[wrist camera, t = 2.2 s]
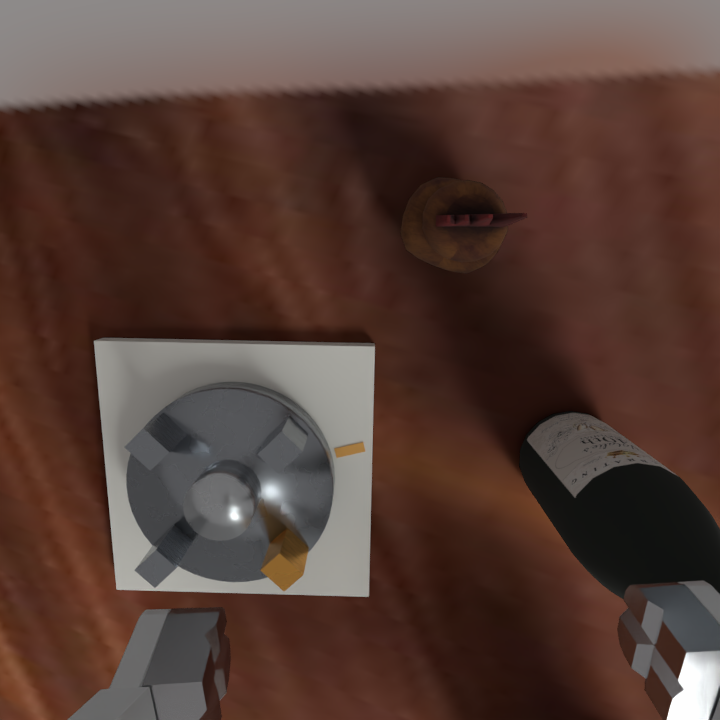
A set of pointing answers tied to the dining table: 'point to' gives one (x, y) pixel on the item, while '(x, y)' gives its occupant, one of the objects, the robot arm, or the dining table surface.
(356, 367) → the base plate
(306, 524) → the lathe chuck
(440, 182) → the wooden figurine
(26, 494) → the dining table surface
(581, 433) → the wine bottle
